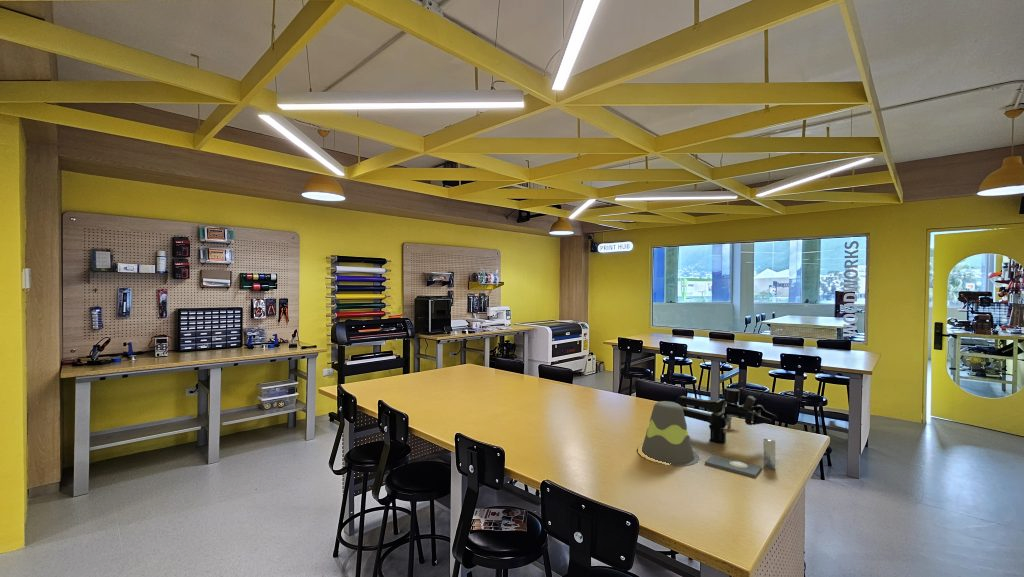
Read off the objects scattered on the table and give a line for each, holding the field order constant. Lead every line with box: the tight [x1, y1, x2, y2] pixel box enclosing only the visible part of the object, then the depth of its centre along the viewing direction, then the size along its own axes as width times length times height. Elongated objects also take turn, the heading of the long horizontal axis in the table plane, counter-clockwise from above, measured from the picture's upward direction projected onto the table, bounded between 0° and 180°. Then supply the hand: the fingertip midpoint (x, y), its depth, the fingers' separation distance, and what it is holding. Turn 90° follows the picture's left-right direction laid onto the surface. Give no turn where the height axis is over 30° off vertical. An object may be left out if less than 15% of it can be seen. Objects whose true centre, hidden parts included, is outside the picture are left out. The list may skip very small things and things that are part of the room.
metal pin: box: [763, 438, 776, 471], centre depth 185 cm, size 4×4×12 cm
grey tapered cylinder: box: [642, 400, 701, 467], centre depth 200 cm, size 28×28×24 cm
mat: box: [704, 454, 763, 479], centre depth 185 cm, size 20×11×1 cm, turn 48°
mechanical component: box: [720, 409, 737, 428], centre depth 240 cm, size 3×10×10 cm, turn 79°
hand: (774, 419), depth 200 cm, fingers open, 9 cm apart
